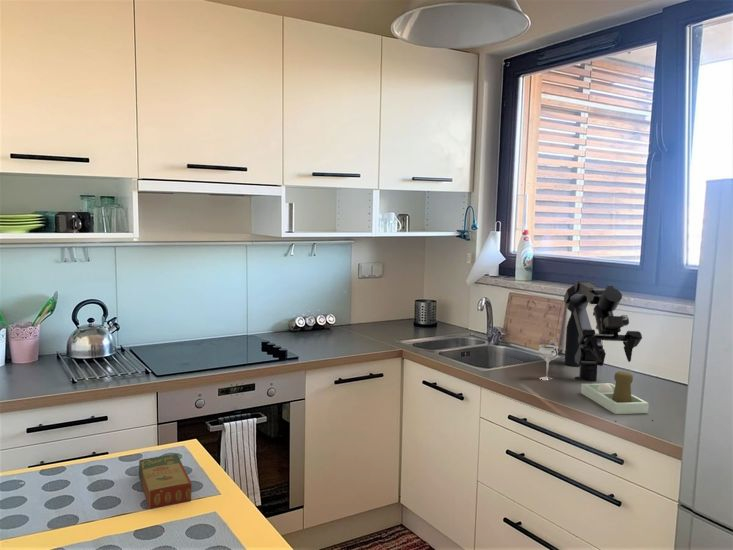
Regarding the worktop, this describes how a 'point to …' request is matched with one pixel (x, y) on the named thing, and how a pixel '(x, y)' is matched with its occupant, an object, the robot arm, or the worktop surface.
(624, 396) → the cork
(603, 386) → the egg
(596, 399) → the green divided tray
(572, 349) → the wine bottle
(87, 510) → the worktop surface
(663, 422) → the worktop surface
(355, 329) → the worktop surface
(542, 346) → the wineglass
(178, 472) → the carton
